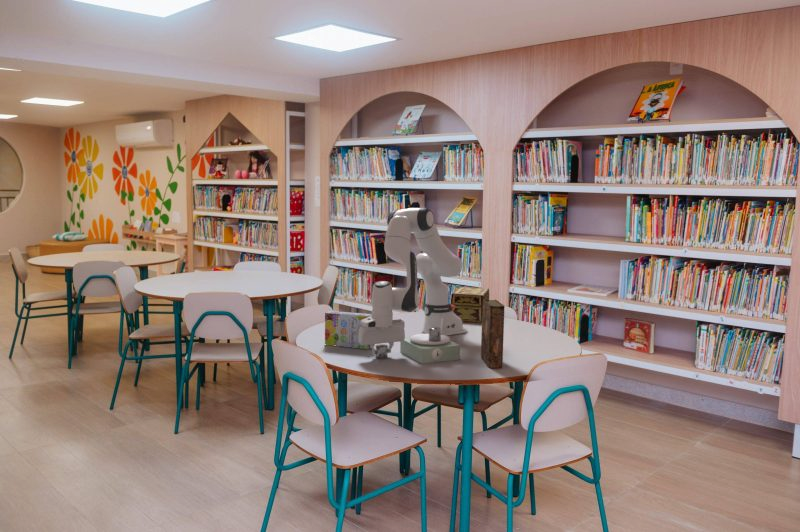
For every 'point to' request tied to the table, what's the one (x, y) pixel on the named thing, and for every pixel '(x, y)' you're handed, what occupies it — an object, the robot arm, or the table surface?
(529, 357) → the table surface
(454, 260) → the robot arm
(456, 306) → the decorative box
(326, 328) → the snack box
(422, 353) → the scale
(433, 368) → the table surface
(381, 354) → the cylinder
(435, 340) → the spacer
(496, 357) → the book
